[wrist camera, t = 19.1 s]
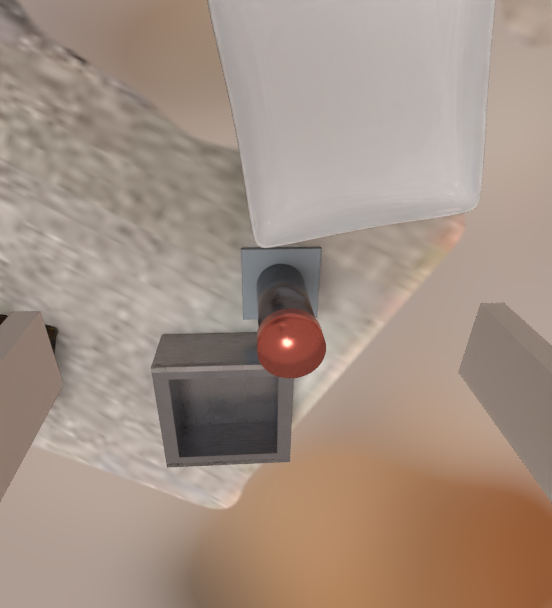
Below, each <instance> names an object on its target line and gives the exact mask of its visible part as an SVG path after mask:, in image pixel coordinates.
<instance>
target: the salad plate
mask: <svg viewBox="0 0 552 608" xmlns="http://www.w3.org/2000/svg"><path fill="white" fill-rule="evenodd" d="M207 1H208V7H209V12H210V17H211V22H212V27H213V31H214V35H215V40H216V44H217V48H218V53H219V57H220V61H221V66H222V70H223V75H224V79H225V84H226V88H227V92H228V97H229V101H230V106H231V111H232V116H233V121H234V126H235V131H236V137H237V142H238V147H239V153H240V160H241V166H242V171H243V178H244V184H245V190H246V197H247V203H248V209H249V216H250V221H251V227H252V232H253V236H254V239H255V242H256V244H257V245H258V246H259V247H261V248H271V247H277V246H283V245H289V244H293V243H298V242H303V241H308V240H313V239H318V238H322V237H327V236H332V235H338V234H343V233H347V232H353V231H358V230H363V229H369V228H374V227H380V226H385V225H391V224H397V223H404V222H411V221H419V220H426V219H433V218H439V217H446V216H451V215H456V214H461V213H465V212H469V211H471V210H473V209H475V208H476V207H477V205H478V203H479V200H480V195H481V188H482V179H483V167H484V151H485V150H484V149H485V135H486V116H487V100H488V85H489V71H490V57H491V47H492V34H493V23H494V14H495V2H496V0H207Z"/></svg>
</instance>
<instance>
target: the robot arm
mask: <svg viewBox="0 0 552 608" xmlns="http://www.w3.org/2000/svg"><path fill="white" fill-rule="evenodd" d="M459 374H460V375H461V377H462V378H463V379H464V381H465V382H466V383H467V385H468V386H469V388H470V389H471V390H472V392H473V393H474V395H475V396H476V397H477V399H478V400H479V402H480V403H481V404H482V406H483V407H484V409H485V410H486V411H487V413H488V414H489V415H490V417H491V418H492V420H493V421H494V422H495V424H496V425H497V427H498V428H499V430H500V431H501V432H502V434H503V435H504V437H505V438H506V439H507V441H508V442H509V444H510V445H511V446H512V448H513V449H514V451H515V452H516V453H517V455H518V456H519V458H520V459H521V460H522V462H523V463H524V465H525V466H526V467H527V469H528V470H529V472H530V473H531V474H532V476H533V477H534V479H535V480H536V481H537V483H538V484H539V485H540V487H541V488H542V490H543V491H544V492H545V494H546V495H547V497H548V498H549V499H550V501H551V502H552V345H550V344H549V343H548V342H547V341H546V340H545V339H544V338H543V337H542V336H540V335H539V334H538V333H537V332H536V331H535V330H534V329H532V327H530V326H529V325H528V324H527V323H526V322H525V321H524V320H522V319H521V318H520V317H519V316H518V315H517V314H516V313H515V312H514V311H513V310H511V309H510V308H509V307H508V306H507V305H506V304H505V303H481V304H480V307H479V310H478V313H477V316H476V319H475V322H474V325H473V328H472V332H471V335H470V338H469V341H468V344H467V347H466V350H465V354H464V356H463V360H462V363H461V366H460V369H459ZM62 387H63V382H62V379H61V376H60V373H59V369H58V366H57V363H56V360H55V356H54V353H53V350H52V347H51V343H50V340H49V337H48V334H47V330H46V327H45V324H44V321H43V317H42V314H41V311H31V312H12V313H11V314H10V315H9V316H8V317H7V318H6V319H5V321H4V322H3V323H2V324H1V325H0V501H1V499H2V498H3V496H4V494H5V492H6V490H7V488H8V487H9V485H10V482H11V481H12V479H13V477H14V475H15V474H16V472H17V470H18V468H19V466H20V464H21V463H22V461H23V459H24V457H25V455H26V453H27V451H28V450H29V448H30V446H31V444H32V442H33V440H34V439H35V437H36V435H37V433H38V431H39V429H40V427H41V426H42V424H43V422H44V420H45V418H46V416H47V414H48V413H49V411H50V409H51V407H52V405H53V403H54V402H55V400H56V398H57V396H58V394H59V392H60V390H61V389H62Z"/></svg>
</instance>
